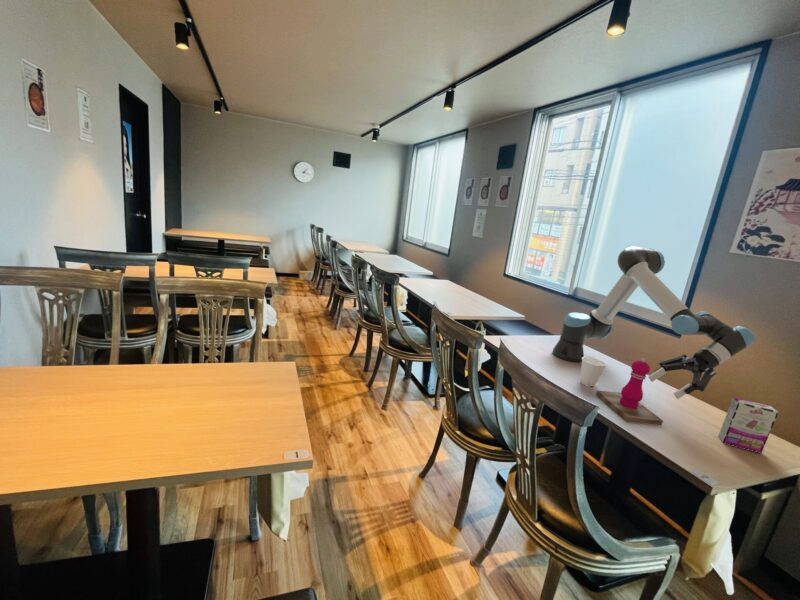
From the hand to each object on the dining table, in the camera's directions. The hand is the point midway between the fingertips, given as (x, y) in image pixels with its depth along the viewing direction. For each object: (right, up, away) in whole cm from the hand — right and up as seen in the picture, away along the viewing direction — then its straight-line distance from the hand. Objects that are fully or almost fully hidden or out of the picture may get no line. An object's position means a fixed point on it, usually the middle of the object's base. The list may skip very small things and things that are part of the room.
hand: (662, 387), depth 144 cm
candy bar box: (+18, -18, -13) cm, 28 cm away
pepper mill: (-12, -7, +1) cm, 14 cm away
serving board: (-13, -9, +2) cm, 16 cm away
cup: (-19, -3, +21) cm, 28 cm away
